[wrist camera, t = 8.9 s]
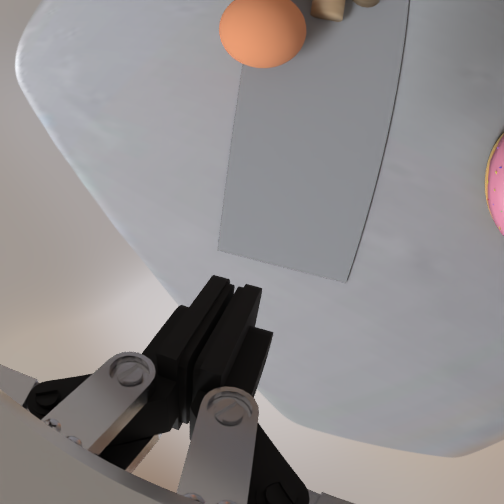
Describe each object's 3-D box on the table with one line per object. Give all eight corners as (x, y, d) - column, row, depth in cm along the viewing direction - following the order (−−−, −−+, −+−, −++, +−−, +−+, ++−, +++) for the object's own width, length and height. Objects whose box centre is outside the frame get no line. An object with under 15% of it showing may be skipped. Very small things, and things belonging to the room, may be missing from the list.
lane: (411, -59, 13) (412, -60, 13) (345, 282, 28) (345, 283, 28) (270, -81, 15) (270, -82, 15) (218, 249, 30) (217, 250, 30)
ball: (256, -36, 14) (261, 32, 14) (318, -2, 18) (329, 63, 18) (203, 5, 18) (202, 69, 19) (263, 27, 22) (267, 86, 23)
